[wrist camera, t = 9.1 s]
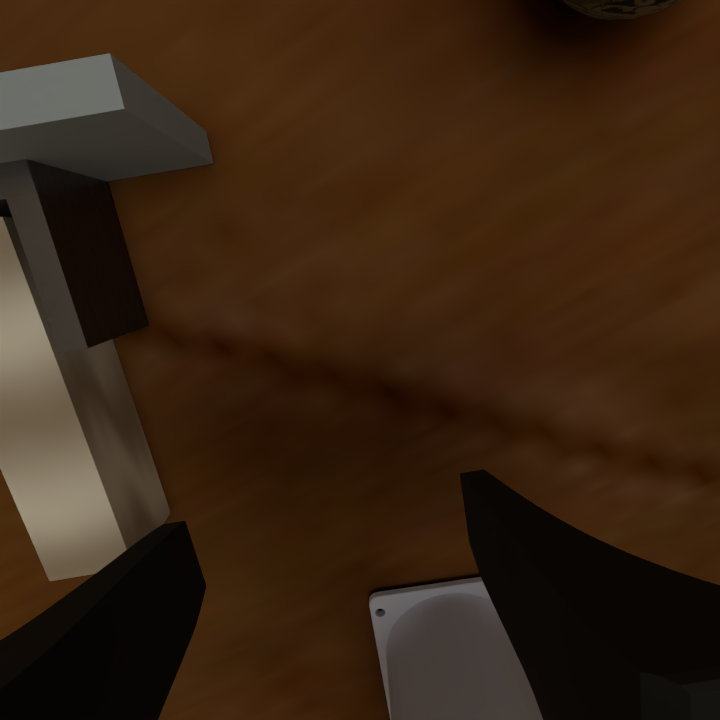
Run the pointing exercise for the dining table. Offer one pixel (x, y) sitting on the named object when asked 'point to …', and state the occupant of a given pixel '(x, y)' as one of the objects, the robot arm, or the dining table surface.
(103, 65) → the backboard
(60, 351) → the bracket
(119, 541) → the rail
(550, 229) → the dining table surface
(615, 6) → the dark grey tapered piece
